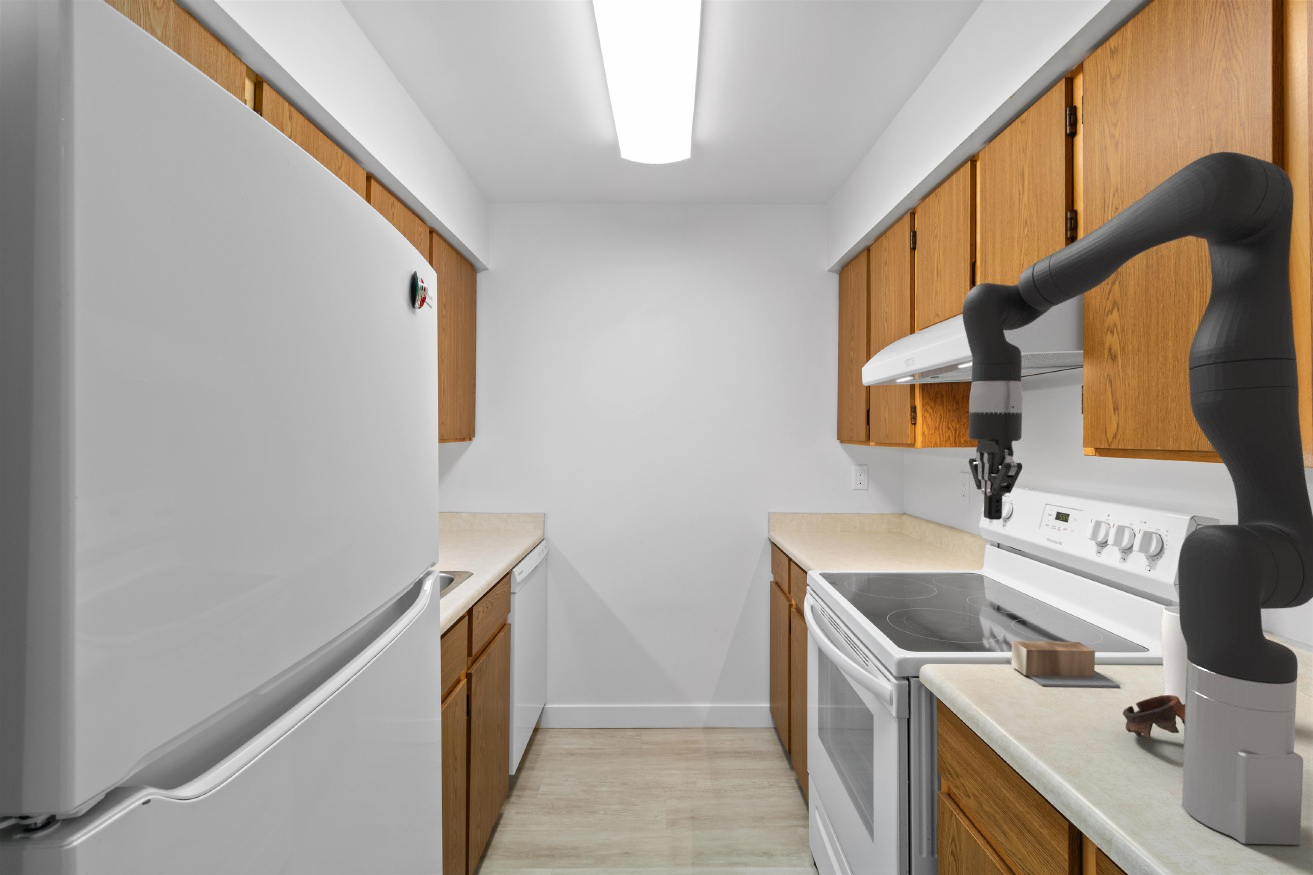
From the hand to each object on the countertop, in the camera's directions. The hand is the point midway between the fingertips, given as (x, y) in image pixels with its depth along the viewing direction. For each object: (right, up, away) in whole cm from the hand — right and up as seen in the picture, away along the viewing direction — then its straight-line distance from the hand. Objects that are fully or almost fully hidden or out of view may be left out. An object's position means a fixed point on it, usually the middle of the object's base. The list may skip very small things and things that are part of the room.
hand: (992, 518), depth 105 cm
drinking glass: (+30, -30, -2) cm, 42 cm away
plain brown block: (+11, -26, +12) cm, 31 cm away
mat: (+18, -29, +12) cm, 36 cm away
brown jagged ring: (+17, -30, -15) cm, 38 cm away
